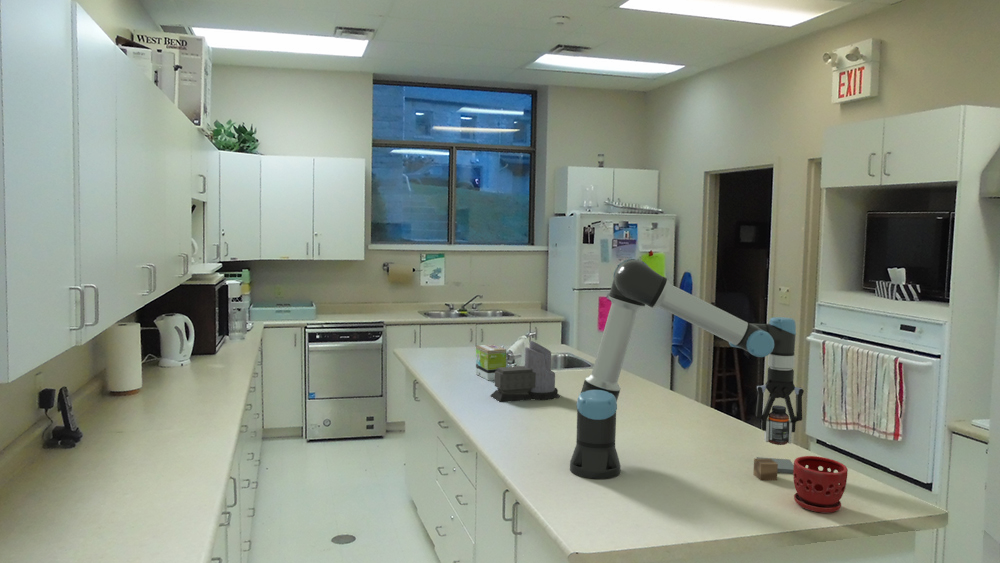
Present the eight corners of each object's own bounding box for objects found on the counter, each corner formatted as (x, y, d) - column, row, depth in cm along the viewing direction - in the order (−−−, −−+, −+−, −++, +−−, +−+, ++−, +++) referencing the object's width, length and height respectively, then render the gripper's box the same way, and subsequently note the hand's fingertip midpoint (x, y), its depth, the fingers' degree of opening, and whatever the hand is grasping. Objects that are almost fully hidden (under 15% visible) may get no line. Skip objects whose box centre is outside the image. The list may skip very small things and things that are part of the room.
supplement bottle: (771, 438, 229) (772, 403, 228) (790, 442, 225) (792, 406, 224) (764, 442, 224) (766, 406, 223) (784, 446, 220) (785, 410, 219)
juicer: (550, 390, 325) (551, 336, 323) (566, 398, 310) (568, 342, 308) (488, 395, 314) (488, 339, 312) (501, 403, 299) (502, 345, 297)
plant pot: (783, 506, 193) (785, 462, 192) (804, 494, 203) (806, 452, 202) (833, 521, 184) (836, 475, 183) (852, 507, 193) (855, 463, 192)
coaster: (796, 473, 219) (796, 469, 219) (761, 471, 221) (762, 467, 221) (789, 463, 229) (789, 459, 229) (756, 460, 231) (756, 457, 231)
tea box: (475, 374, 356) (475, 344, 354) (493, 373, 360) (494, 343, 359) (487, 380, 342) (487, 349, 341) (506, 379, 346) (507, 348, 345)
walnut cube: (776, 480, 213) (777, 464, 213) (760, 480, 213) (761, 464, 213) (769, 474, 218) (770, 458, 218) (753, 474, 218) (754, 458, 218)
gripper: (810, 366, 225) (807, 440, 226) (746, 364, 228) (743, 436, 230) (816, 371, 217) (812, 447, 219) (750, 368, 221) (747, 443, 222)
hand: (777, 441), depth 224 cm, fingers closed on supplement bottle, 6 cm apart
